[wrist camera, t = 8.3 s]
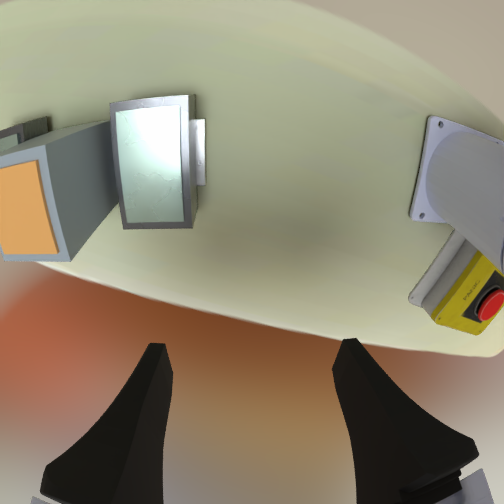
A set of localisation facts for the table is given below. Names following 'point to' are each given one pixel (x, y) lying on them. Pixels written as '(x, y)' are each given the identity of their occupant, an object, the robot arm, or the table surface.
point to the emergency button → (460, 287)
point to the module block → (56, 192)
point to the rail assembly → (148, 159)
